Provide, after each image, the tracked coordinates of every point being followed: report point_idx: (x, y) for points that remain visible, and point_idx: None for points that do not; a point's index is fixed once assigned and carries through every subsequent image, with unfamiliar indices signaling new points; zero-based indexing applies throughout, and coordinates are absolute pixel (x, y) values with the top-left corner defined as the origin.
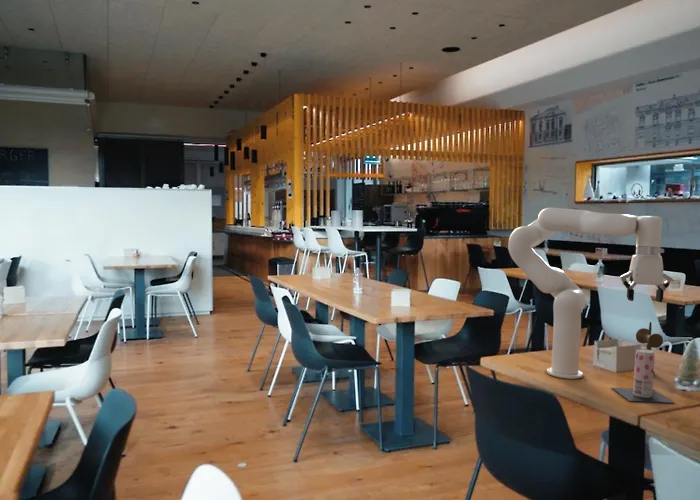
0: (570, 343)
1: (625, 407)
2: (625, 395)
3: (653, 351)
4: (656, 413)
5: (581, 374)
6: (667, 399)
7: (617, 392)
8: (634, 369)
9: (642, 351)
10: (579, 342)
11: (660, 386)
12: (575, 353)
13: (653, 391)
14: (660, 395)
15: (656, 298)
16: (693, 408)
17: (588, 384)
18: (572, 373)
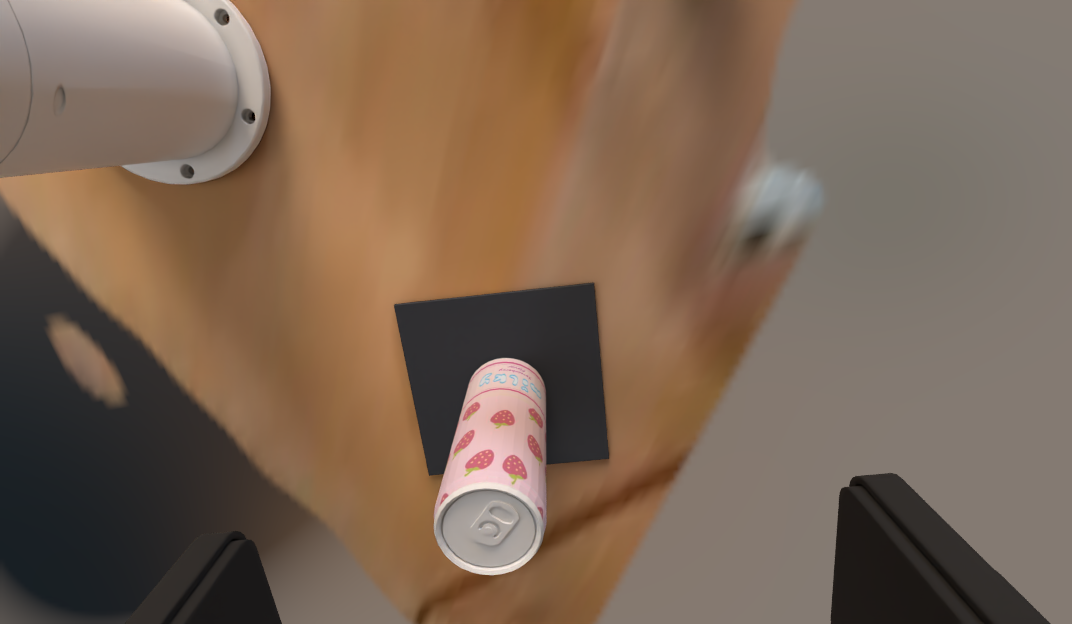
0: (20, 174)
1: (397, 539)
2: (430, 410)
3: (539, 538)
4: (494, 575)
5: (254, 129)
6: (599, 422)
7: (407, 365)
8: (452, 443)
9: (469, 537)
10: (87, 119)
11: (663, 195)
12: (124, 154)
13: (582, 318)
14: (591, 373)
15: (867, 538)
16: (663, 495)
17: (291, 257)
18: (198, 153)
